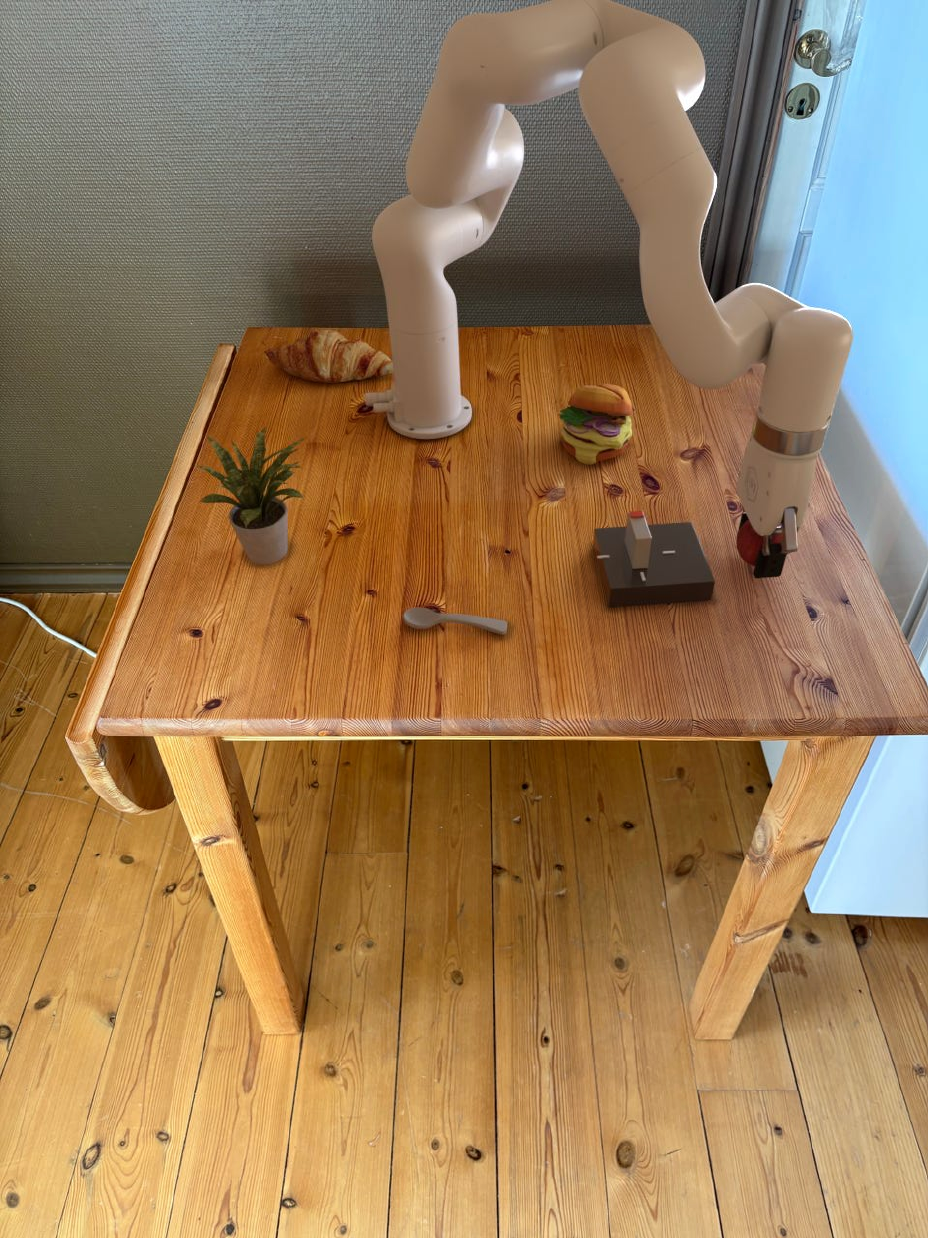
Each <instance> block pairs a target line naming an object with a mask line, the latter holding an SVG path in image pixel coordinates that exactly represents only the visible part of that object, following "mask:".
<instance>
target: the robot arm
mask: <svg viewBox="0 0 928 1238" xmlns="http://www.w3.org/2000/svg"><path fill="white" fill-rule="evenodd" d="M435 69H436V70H435V73H434V77H433V80H432V84H431V86H430V90H429V93H428V95H427V97H426V100H425V103H424V106H423V109H422V112H421V114H420V118H419V121H418V124H417V127H416V130H415V133H414V135H413V139H412V141H411V145H410V147H409V151H408V155H407V159H406V164H405V182H406V186H407V189H408V191H409V193H410V194H408V195H406V196H403V197H402V198H399V199H397V200H395V201H393V202H392V203H391V204H389V205H387V206H386V207H385V208H384V209H383V210H382V211H381V212H380V213H379V215H378V216H377V217H376V219H375V222H374V224H373V227H372V230H371V231H372V232H371V240H372V241H371V242H372V247H373V252H374V255H375V258H376V262H377V265H378V268H379V272H380V276H381V279H382V283H383V290H384V297H385V303H386V312H387V322H388V332H389V343H390V353H391V361H392V363H393V372H392V374H393V382H392V388H391V389H386V391H384V392H377V391H375V392H365V393H364V395H365V396H364V401H365V407H373V413H374V414H380V413H386V419H387V423H388V425H389V427H390V428H391V429H392V430H393V431H395V432H396V433H398V434H399V435H402V436H403V437H407V438H411V439H417V440H437V439H441V438H446V437H449V436H453V435H454V434H457V433H458V432H461V431H462V430H463V429H464V428H466V427H467V426H468V425H469V423H470V422H471V420H472V417H473V409H472V405H471V403H470V401H469V400H468V399H467V398H466V397H465V396H463V395H462V394H461V391H462V390H461V368H460V367H461V366H460V347H459V346H460V345H459V344H460V343H459V322H458V307H457V306H458V305H457V299H456V295H455V293H454V290H453V289H452V287H451V285H450V284H449V282H448V281H447V280H446V278H445V276H444V270H445V268H446V267H447V266H448V265H450V264H452V263H454V262H455V261H457V260H459V259H460V258H463V257H464V256H467V255H468V254H471V253H472V252H474V251H475V250H478V249H479V248H480V247H482V246H483V245H484V244H485V243H487V242H488V240H489V239H490V238H491V235H492V234H493V232H495V228H496V227H497V225H498V223H499V220H500V219H501V216H502V214H503V212H504V210H505V208H506V206H507V203H508V201H509V199H510V197H511V194H512V192H513V190H514V188H515V186H516V184H517V182H518V179H519V177H520V175H521V172H522V169H523V165H524V159H525V143H524V136H523V132H522V129H521V127H520V125H519V124H520V123H519V121H518V120H517V118H516V117H515V116H514V114H512V112H511V111H510V110H508V109H507V108H506V106H513V107H525V106H533V105H536V104H540V103H543V102H545V101H547V100H550V99H553V98H556V97H559V96H561V95H563V94H566V93H568V92H571V91H573V90H576V89H577V95H578V102H579V105H580V109H581V111H582V114H583V116H584V118H585V122H586V123H587V125H588V127H589V129H590V131H591V133H592V135H593V137H594V138H595V140H596V143H597V145H598V147H599V148H600V151H601V152H602V154H603V157H604V159H605V161H606V162H607V164H608V167H609V168H610V171H611V172H612V174H613V176H614V178H615V180H616V182H617V185H618V186H619V189H620V190H621V192H622V194H623V196H624V198H625V201H626V202H627V204H628V206H629V208H630V210H631V213H632V214H633V216H634V218H635V220H636V223H637V225H638V230H639V249H638V250H639V251H638V263H639V277H640V286H641V293H642V300H643V305H644V309H645V311H646V312H645V313H646V316H647V318H648V320H649V323H650V325H651V327H652V329H653V331H654V332H655V335H656V336H657V339H658V340H659V342H660V344H661V346H662V349H663V351H664V352H665V354H666V356H667V358H668V360H669V361H670V362H671V364H672V366H674V369H676V371H677V372H678V374H679V375H680V376H682V378H683V379H684V380H686V381H687V382H688V383H690V384H691V385H693V386H695V387H697V388H699V389H704V390H717V389H721V388H724V387H727V386H729V385H730V384H732V383H733V382H735V381H736V380H738V379H739V378H740V377H741V376H743V375H744V374H746V373H747V372H748V371H749V370H750V369H752V368H753V367H754V366H756V365H758V364H764V365H765V369H764V373H763V376H762V377H763V378H762V384H761V387H760V393H759V397H758V401H757V402H758V403H757V407H756V411H755V416H754V420H753V425H752V430H751V433H750V435H749V436H748V437H749V438H748V440H747V444H746V447H745V450H744V453H743V457H742V461H741V464H740V468H739V471H738V475H737V480H736V485H735V486H736V489H735V490H736V494H737V496H738V499H739V500H740V503H741V505H742V507H741V508H742V512H743V513H741V517H740V521H739V525H738V530H737V532H738V531H739V530H740V528H741V527H742V525H743V524H744V523H745V522H746V521H747V520H750V522H751V524H752V526H753V528H754V530H755V531H756V532H757V533H758V534H759V535H760V536H763V548H762V549H760V550H759V551H758V555H757V559H756V563H755V566H753V571H752V575H753V578H754V579H769V578H778V577H780V576H782V573H783V569H784V566H785V562H786V559H787V555H789V554H791V553H796V552H798V548H799V546H798V545H799V544H798V533H799V532H800V531H801V529H802V527H803V524H804V523H805V519H806V515H807V512H808V508H809V504H810V500H811V494H812V490H813V485H814V479H815V473H816V467H817V458H818V454H820V452H821V451H822V450H823V448H824V447H825V446H824V445H825V441H826V438H827V436H828V435H827V434H828V431H829V428H830V424H831V419H832V416H833V413H834V409H835V405H836V403H837V399H838V395H839V392H840V389H841V384H842V381H843V378H844V374H845V372H846V371H845V370H846V367H847V363H848V360H849V356H850V352H851V349H852V344H853V340H854V331H853V327H852V325H851V323H850V321H849V320H847V318H845V317H844V316H843V315H841V314H840V313H837V312H834V311H832V310H828V309H825V308H818V307H810V306H808V305H805V304H803V303H801V302H799V301H798V300H796V299H794V298H792V297H791V296H789V295H787V294H786V293H783V292H782V291H780V290H778V289H776V288H775V287H772V286H770V285H767V284H764V283H757V282H752V283H746V284H743V285H741V286H739V287H737V288H735V289H734V290H732V291H731V292H730V293H728V294H726V295H725V296H723V297H722V298H721V299H719V300H718V301H716V302H715V301H714V300H713V298H712V296H711V293H710V292H709V288H708V286H707V284H706V280H705V278H704V274H703V268H702V264H701V240H702V234H703V229H704V224H705V223H706V220H707V216H708V214H709V210H710V208H711V205H712V202H713V199H714V196H715V193H716V190H717V184H718V177H717V174H716V172H715V170H714V167H713V165H712V164H711V161H710V160H709V158H708V156H707V154H706V152H705V149H704V147H703V145H702V144H701V142H700V139H699V137H698V136H697V133H696V131H695V129H694V127H693V124H692V123H691V121H690V119H689V116H688V114H687V112H686V111H688V110H689V109H690V108H691V107H693V105H694V104H695V103H696V102H697V100H699V98H700V96H701V93H702V92H703V89H704V86H705V81H706V63H705V59H704V54H703V52H702V50H701V48H700V46H699V43H698V42H697V41H696V39H694V37H693V36H692V35H691V34H690V33H689V32H688V31H687V30H686V29H684V28H683V27H681V26H679V25H678V24H676V23H674V22H672V21H669V20H667V19H665V18H661V17H659V16H656V15H654V14H650V13H648V12H645V11H641V10H639V9H636V8H633V7H629V6H627V5H624V4H622V3H618V2H616V1H613V0H548V1H544V2H542V3H538V4H534V5H530V6H525V7H523V8H520V9H516V10H511V11H505V12H496V13H495V12H494V13H493V12H490V13H484V12H483V13H470V14H467V15H464V16H463V17H461V18H460V19H458V20H457V21H456V22H455V23H453V25H451V27H450V28H449V30H448V31H447V33H446V35H445V37H444V39H443V41H442V45H441V48H440V51H439V55H438V61H437V65H436V68H435ZM780 523H781V526H778V525H779V524H780ZM774 534H782V541H781V542H780V543H774V544H771V539H772V535H774Z"/></svg>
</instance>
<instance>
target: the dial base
mask: <svg viewBox="0 0 928 1238" xmlns="http://www.w3.org/2000/svg"><path fill="white" fill-rule="evenodd" d="M647 525H648V528H649V531H650V534H651V537H652V540H651V547H650V555H649V562H648V568H639V569H633V568H632V565H631V562H630V558H629V555H628V551H627V548H626V545H625V534H626V526H616V527H615V526H614V527H601V528H598V527H597V528H594V531H593V543H592V549H593V553H594V557H595V560H596V564H597V568H598V571H599V576H600V579H601V583H602V588H603V590H604V595H605V599H606V602H607V606H608V608H609V609H610V608H626V607H639V606H652V605H666V604H679V603H680V604H681V603H695V602H709V601H712V598H713V593H714V588H715V584H716V580H715V578H714V575H713V573H712V570H711V567H710V565H709V563H708V560H707V557H706V554H705V552H704V549H703V547H702V545H701V543H700V539H699V537H698V534H697V531H696V529H695V527H694V524H693V522H692V521H685V522H684V521H683V522H671V523H670V522H669V523H656V524H647Z"/></svg>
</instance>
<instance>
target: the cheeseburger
mask: <svg viewBox="0 0 928 1238" xmlns="http://www.w3.org/2000/svg"><path fill="white" fill-rule="evenodd" d="M567 405H568V406H567V407H565V408H563V409H560V411H559V413H558V416H559V419H560V421H561V426H562V427H561V434H562V435H561V443H562V446H563V447H564V450H565V451H567V453H568V454H570V455H571V456H573V458H575V459H576V461H578V462H579V463H581V464H584V465H594V464H596V463H597V462H600V461H607V460H609V459H612V458H615V457H618V456H621V454H623V453H624V452H625V451H627V448H628V445H629V441H630V439H631V438H632V436H633V429H632V425H633V423H632V419H631V417H630V416H631V415H633V413H635V412H636V409H635V408H634V407H633V404H632V401H631V398H630V396H629V394H628V391H626V390H625V389H624V388H623V387H622V386H620V385H616V384H612V383H611V384H610V383H599V384H595V385H590V384H586V385H581V386H580V387H579V388H577V389H576V390H575V391H574V392H573V393H572V394H571V396H570V398H569V400H568V401H567Z"/></svg>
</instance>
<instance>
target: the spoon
mask: <svg viewBox="0 0 928 1238" xmlns="http://www.w3.org/2000/svg"><path fill="white" fill-rule="evenodd" d="M402 619H403V621H404V623H405V624H406V625H407V626H408V627H410V628H412V629H416V630H428V629H431V628H433V627H434V626H436V625H438V624H444V623H445V624H446V623H447V624H448V623H449V624H461V625H464V626H465V625H466V626H471V627H475V628H478V629H481V630H482V629H483V630H486V631H488V632H492V633H494V634H498V635H501V636H505V635H507V632H508V622H507V621H506V620H504V619H499V618H493V617H491V618H490V617H484V616H477V615H470V614H461V613H439V612H435V611H433V610H432V609H430V608H426V607H420V606H418V607H417V606H416V607H412V608H409V609H407V610H406V611H405V612H404V613H403V615H402Z"/></svg>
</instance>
